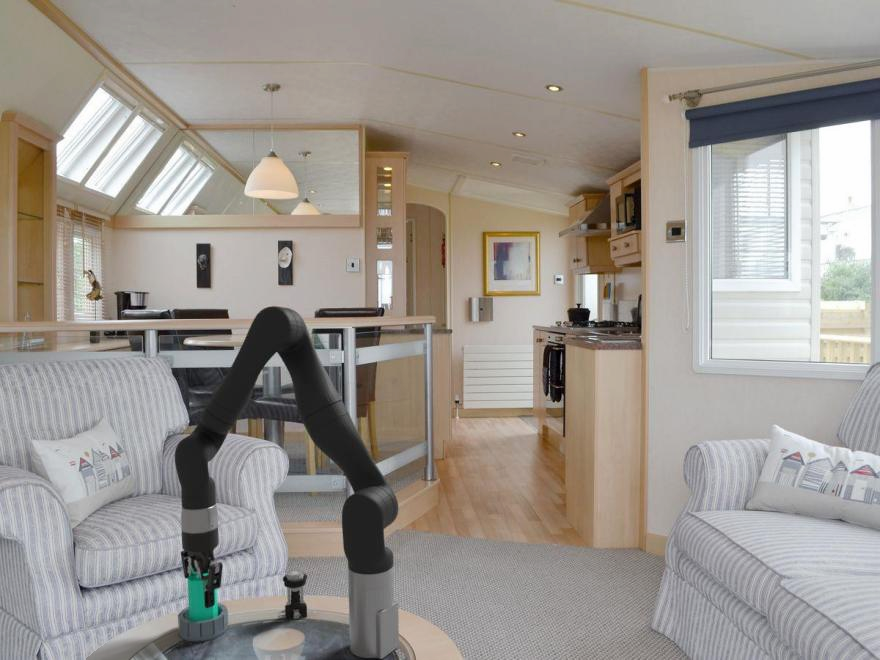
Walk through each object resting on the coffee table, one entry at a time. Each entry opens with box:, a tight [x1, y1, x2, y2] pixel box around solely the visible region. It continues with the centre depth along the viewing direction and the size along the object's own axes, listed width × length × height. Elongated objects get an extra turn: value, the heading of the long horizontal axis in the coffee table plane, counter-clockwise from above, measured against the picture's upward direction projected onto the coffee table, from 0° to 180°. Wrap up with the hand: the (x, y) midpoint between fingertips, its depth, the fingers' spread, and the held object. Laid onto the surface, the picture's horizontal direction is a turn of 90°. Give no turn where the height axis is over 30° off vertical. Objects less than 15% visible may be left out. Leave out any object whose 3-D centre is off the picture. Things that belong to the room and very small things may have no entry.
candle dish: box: [177, 602, 229, 643], centre depth 163 cm, size 10×10×4 cm
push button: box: [277, 569, 308, 620], centre depth 169 cm, size 7×5×10 cm
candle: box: [187, 572, 218, 621], centre depth 163 cm, size 6×6×12 cm
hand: (202, 602), depth 163 cm, fingers closed on candle, 4 cm apart
